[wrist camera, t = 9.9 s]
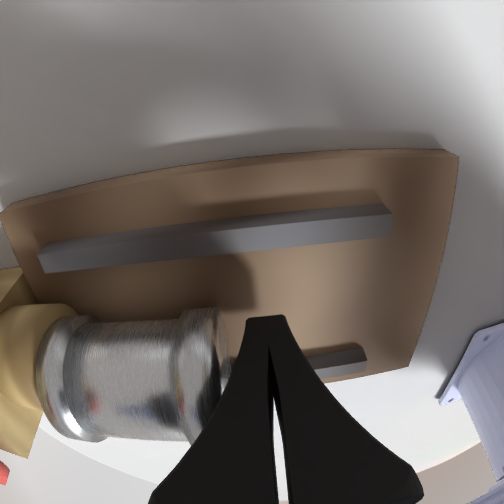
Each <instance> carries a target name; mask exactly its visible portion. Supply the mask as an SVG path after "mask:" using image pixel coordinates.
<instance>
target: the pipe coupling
mask: <svg viewBox="0 0 504 504" xmlns="http://www.w3.org/2000/svg"><path fill="white" fill-rule="evenodd" d="M230 375H231V364H230V356H229V349H228V343H227V337H226V332H225V327H224V323H223V319H222V316H221V313H220V311H219V309H218V308H217V307H210V308H198V309H186V310H184V311H183V312H182V314H181V316H180V318H179V319H165V320H148V321H128V322H102V321H101V320H99V319H98V318H97V317H94V316H91V315H76V316H63V317H60V318H58V319H56V320H55V321H54V322H52V323H51V324H50V326H49V327H48V328H47V330H46V331H45V333H44V335H43V337H42V339H41V342H40V345H39V349H38V353H37V358H36V385H37V391H38V396H39V400H40V403H41V406H42V408H43V411H44V413H45V415H46V417H47V418H48V420H49V422H50V423H51V424H52V426H53V427H54V428H55V429H56V430H57V431H58V432H59V433H61V434H62V435H64V436H65V437H68V438H71V439H76V440H82V441H89V442H100V441H103V440H105V439H106V438H107V437H117V438H127V439H139V440H155V441H189V443H190V445H191V446H192V444H193V443H194V442H195V440H196V439H197V437H198V436H199V434H200V433H201V431H202V429H203V428H204V426H205V425H206V423H207V421H208V420H209V418H210V416H211V415H212V413H213V411H214V409H215V407H216V405H217V403H218V402H219V400H220V397H221V395H222V393H223V391H224V389H225V387H226V384H227V382H228V380H229V377H230Z"/></svg>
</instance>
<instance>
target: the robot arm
mask: <svg viewBox="0 0 504 504" xmlns="http://www.w3.org/2000/svg"><path fill="white" fill-rule="evenodd" d="M460 399H463V401H464V403H465V406H466V408H467V410H468V412H469V414H470V417H471V419H472V421H473V423H474V426H475V428H476V430H477V432H478V435H479V437H480V440H481V442H482V444H483V447H484V449H485V452H486V454H487V457H488V459H489V462H490V464H491V467H492V470H493V473H494V475H495V478H496V481H499V480H501V481H500V482H499V483H497V484H496V485H494V486H492V487H491V488H490V489H489V491H490V492H488V493H487V494H485V495H483V496H481V497H479V498H477V499H475V500H473V501H471V502H469V503H467V504H504V323H501V324H498V325H495V326H492V327H489V328H486V329H483V330H480V331H478V332H477V333H475V335H474V336H473V338H472V340H471V342H470V344H469V346H468V348H467V350H466V352H465V354H464V356H463V358H462V360H461V362H460V364H459V366H458V367H457V369H456V371H455V373H454V375H453V377H452V378H451V380H450V382H449V384H448V385H447V387H446V389H445V391H444V392H443V394H442V396H441V397H440V399H439V401H438V402H439V404H440V405H441V406H442V405H446V404H449V403H451V402H454V401H457V400H460ZM274 401H275V406H276V411H277V416H278V421H279V426H280V430H281V435H282V442H283V449H284V459H285V469H286V479H287V489H288V500H289V504H416V503H417V502H418V501H420V500H421V499H422V498H423V496H424V492H423V488H422V485H421V483H420V481H419V478H418V476H417V474H416V473H415V471H414V469H413V468H412V466H411V465H410V464H408V463H407V462H405V461H404V460H402V459H401V458H400V457H398V456H397V455H396V454H394V453H393V452H392V451H390V450H389V449H388V448H386V447H385V446H384V445H383V444H381V443H380V442H379V441H378V440H377V439H375V438H374V437H373V436H372V435H371V434H370V433H369V432H368V431H367V430H366V429H365V428H363V427H362V426H361V425H360V424H359V423H358V422H357V421H356V420H355V419H354V418H353V417H352V416H351V415H350V414H349V413H348V412H347V411H346V410H345V409H344V407H343V406H342V405H341V404H340V403H339V402H338V401H337V400H336V398H335V397H334V396H333V395H332V394H331V392H330V391H329V390H328V389H327V387H326V386H325V385H324V383H323V382H322V381H321V379H320V378H319V377H318V375H317V374H316V372H315V371H314V369H313V368H312V366H311V365H310V363H309V362H308V360H307V359H306V357H305V355H304V354H303V352H302V350H301V349H300V347H299V345H298V343H297V342H296V340H295V338H294V336H293V334H292V332H291V329H290V327H289V325H288V322H287V319H286V316H284V315H283V314H279V315H270V316H261V317H251V318H248V319H247V320H246V323H245V330H244V335H243V339H242V343H241V346H240V350H239V353H238V356H237V359H236V362H235V365H234V368H233V370H232V373H231V375H230V377H229V380H228V382H227V384H226V387H225V389H224V391H223V393H222V395H221V397H220V400H219V402H218V403H217V405H216V407H215V409H214V411H213V413H212V415H211V416H210V418H209V420H208V421H207V423H206V425H205V426H204V428H203V429H202V431H201V433H200V434H199V436H198V437H197V439H196V440H195V442H194V443H193V444H192V446H191V447H190V448H189V450H188V451H187V452H186V454H185V455H184V456H183V458H182V459H181V460H180V462H179V463H178V464H177V465H176V467H175V468H174V469H173V470H172V471H171V472H170V473H169V475H168V476H167V477H166V478H165V479H164V480H163V481H162V482H161V483H160V484H159V485H158V486H157V488H156V489H155V490H154V491H153V492H152V494H151V497H150V499H149V502H148V504H279V499H278V488H277V477H276V466H275V455H274V441H273V405H274ZM502 479H503V480H502Z"/></svg>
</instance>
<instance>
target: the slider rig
mask: <svg viewBox="0 0 504 504" xmlns="http://www.w3.org/2000/svg"><path fill="white" fill-rule="evenodd" d="M458 163H459V157H458V156H456V155H454V154H452V153H450V152H448V151H446V150H443V149H360V150H335V151H317V152H302V153H289V154H277V155H267V156H257V157H247V158H238V159H230V160H222V161H214V162H207V163H199V164H192V165H186V166H179V167H173V168H167V169H161V170H155V171H149V172H144V173H138V174H133V175H128V176H123V177H118V178H113V179H108V180H103V181H98V182H94V183H89V184H85V185H81V186H76V187H72V188H68V189H64V190H60V191H56V192H52V193H48V194H44V195H40V196H37V197H33V198H29V199H26V200H22V201H19V202H15V203H12V204H10V205H9V206H8V207H7V208H5V209H4V210H3V211H2V212H0V220H1V222H2V225H3V228H4V230H5V233H6V235H7V237H8V240H9V242H10V245H11V247H12V249H13V252H14V254H15V256H16V258H17V260H18V263H19V265H20V267H15V268H8V269H0V449H2V450H5V451H7V452H10V453H12V454H15V455H18V456H21V457H24V458H28V456H29V453H30V450H31V446H32V443H33V440H34V437H35V434H36V431H37V428H38V425H39V423H40V420H41V417H42V414H43V408H42V406H41V403H40V400H39V396H38V391H37V385H36V358H37V353H38V349H39V345H40V342H41V339H42V337H43V335H44V333H45V331H46V330H47V328H48V327H49V326H50V324H51V323H52V322H54V321H55V320H56V319H58V318H60V317H63V316H76V315H91V316H94V317H97V318H98V319H99V320H101V321H102V322H128V321H148V320H165V319H179V318H180V316H181V314H182V312H183V311H184V310H186V309H198V308H210V307H217V308H218V309H219V311H220V313H221V316H222V319H223V323H224V327H225V332H226V337H227V343H228V349H229V356H230V364H231V373H232V370H233V368H234V365H235V362H236V359H237V356H238V353H239V350H240V346H241V343H242V339H243V335H244V330H245V323H246V320H247V319H248V318H251V317H261V316H270V315H279V314H283V315H284V316H286V319H287V322H288V325H289V327H290V329H291V332H292V334H293V336H294V338H295V340H296V342H297V343H298V345H299V347H300V349H301V350H302V352H303V354H304V355H305V357H306V359H307V360H308V362H309V363H310V365H311V366H312V368H313V369H314V371H315V372H316V374H317V375H318V377H319V378H320V379H321V381H322V382H323V383H330V382H336V381H342V380H347V379H353V378H358V377H363V376H368V375H373V374H378V373H383V372H387V371H392V370H396V369H400V368H404V367H408V366H409V363H410V361H411V358H412V355H413V353H414V350H415V347H416V345H417V342H418V339H419V336H420V333H421V330H422V327H423V324H424V321H425V318H426V315H427V312H428V309H429V305H430V302H431V299H432V295H433V292H434V288H435V284H436V281H437V277H438V273H439V269H440V265H441V261H442V257H443V253H444V248H445V244H446V239H447V234H448V229H449V224H450V219H451V213H452V207H453V201H454V194H455V188H456V180H457V172H458ZM9 472H10V470H9V468H8V467H7V466H6V465H4V463H3V462H1V461H0V484H3V485H6V482H7V479H8V475H9Z"/></svg>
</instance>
